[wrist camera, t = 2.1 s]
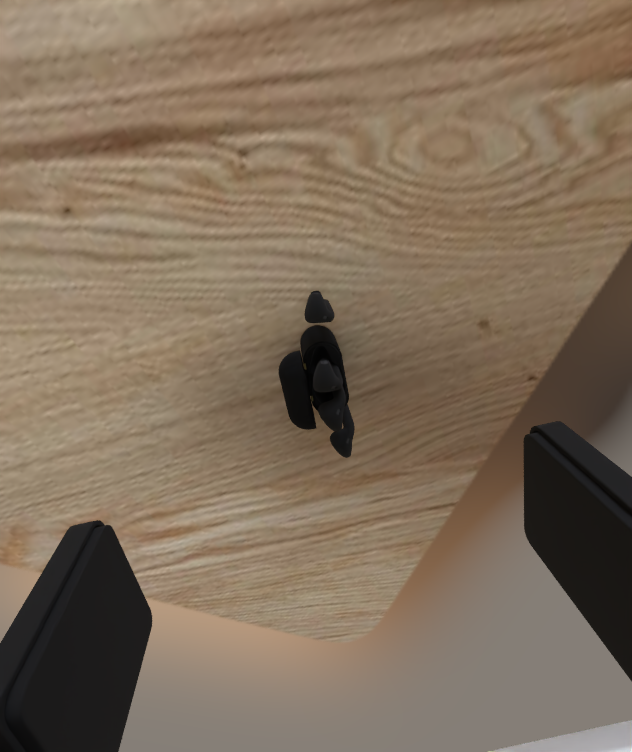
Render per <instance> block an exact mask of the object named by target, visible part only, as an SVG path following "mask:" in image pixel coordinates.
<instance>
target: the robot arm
mask: <svg viewBox="0 0 632 752" xmlns="http://www.w3.org/2000/svg"><path fill="white" fill-rule="evenodd" d="M524 529H525V533H526V537H527V539H528V541H529V543H530V544H531V546H532V547H533V549H534V550H535V551H536V553H537V554H538V555H539V557H540V558H541V559H542V561H543V562H544V563H545V565H546V566H547V568H548V569H549V570H550V571H551V573H552V574H553V576H554V577H555V578H556V580H557V581H558V582H559V584H560V585H561V586H562V588H563V589H564V591H565V592H566V593H567V595H568V596H569V597H570V599H571V600H572V601H573V603H574V604H575V605H576V607H577V608H578V609H579V611H580V612H581V613H582V615H583V616H584V618H585V619H586V620H587V621H588V623H589V624H590V626H591V627H592V628H593V630H594V631H595V632H596V634H597V635H598V636H599V638H600V639H601V640H602V642H603V643H604V645H605V646H606V647H607V649H608V650H609V651H610V653H611V654H612V655H613V656H614V658H615V659H616V661H617V662H618V663H619V665H620V666H621V668H622V669H623V670H624V672H625V673H626V674H627V676H628V677H629V678H630V680H631V681H632V477H631V476H630V475H628V474H627V473H626V472H625V471H623V470H622V469H621V468H620V467H618V466H617V465H616V464H614V463H613V462H612V461H610V460H609V459H608V458H607V457H606V456H604V455H603V454H602V453H600V452H599V451H598V450H597V449H595V448H594V447H593V446H592V445H590V444H589V443H588V442H586V441H585V440H584V439H583V438H581V437H580V436H579V435H578V434H576V433H575V432H574V431H573V430H571V429H570V428H569V427H567V426H566V425H565V424H564V423H562V422H558V421H556V422H552V423H547V424H542V425H538V426H534V427H532V428H531V431H530V434H527V435H525V438H524ZM151 627H152V615H151V610H150V607H149V606H148V603H147V601H146V599H145V597H144V595H143V592H142V590H141V588H140V586H139V584H138V582H137V579H136V577H135V575H134V573H133V571H132V569H131V567H130V564H129V562H128V560H127V558H126V556H125V554H124V551H123V549H122V547H121V545H120V543H119V541H118V539H117V536H116V534H115V532H114V530H113V528H112V527H111V526H110V525H104V524H103V523H102V522H101V521H98V520H97V521H92V522H87V523H83V524H78V525H73V526H71V527H70V528H69V529H68V530H67V532H66V533H65V535H64V537H63V539H62V540H61V542H60V544H59V545H58V547H57V549H56V550H55V552H54V554H53V555H52V557H51V559H50V560H49V562H48V564H47V565H46V567H45V569H44V571H43V572H42V574H41V576H40V577H39V579H38V581H37V582H36V584H35V586H34V587H33V589H32V591H31V592H30V594H29V596H28V598H27V599H26V601H25V603H24V604H23V606H22V608H21V609H20V611H19V613H18V614H17V616H16V618H15V619H14V621H13V623H12V625H11V626H10V628H9V630H8V631H7V633H6V635H5V636H4V638H3V640H2V641H1V643H0V752H118V751H119V747H120V743H121V739H122V735H123V732H124V728H125V725H126V721H127V717H128V713H129V710H130V706H131V702H132V698H133V695H134V691H135V687H136V683H137V680H138V676H139V672H140V669H141V665H142V661H143V657H144V654H145V650H146V646H147V642H148V638H149V635H150V631H151ZM488 752H632V720H630V721H625V722H620V723H615V724H610V725H606V726H601V727H597V728H592V729H588V730H583V731H578V732H574V733H570V734H565V735H561V736H556V737H552V738H547V739H543V740H538V741H534V742H529V743H524V744H520V745H516V746H511V747H506V748H502V749H497V750H493V751H488Z"/></svg>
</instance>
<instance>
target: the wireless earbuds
mask: <svg viewBox="0 0 632 752" xmlns="http://www.w3.org/2000/svg"><path fill="white" fill-rule="evenodd" d="M333 319H334V312H333V310H332V307H331V305H330V303H329V301H328V300H326V299H323V297H322V295H321V293H320V292H319V291H313V292H312V293H311V294H310V296H309V298H308V301H307V305H306V309H305V320H306V321H307V322H309V323H323V322H331V321H332V320H333ZM300 344H301V351H302V357H303V362H302V357H301V353H300V351H295V352H292V353H290V354H288V355H287V356H286V357H284V359H283V360H282V362H281V363H280V366H279V377H280V381H281V385H282V389H283V393H284V398H285V402H286V406H287V410H288V414H289V417H290V419H291V421H292V422H293V423H294V424H295V425H296V426H297V427H299V428H302V429H308V430H309V429H315V428H316V423H315V418H314V413H313V408H312V404H313V406H314V407H315V409H316V410H318V412H319V415H320V417H321V419H322V420H323V421H324V423H325V424H326V425H327V426H328V427H329V428H330V429H331V430H333V431H335V432H333V433H332V434H331V436H330V441H331V443H332V445H333V447H334V448H335V449H336V451H337V452H338V453H339V454H340V455H342V456H343V457H345V458H348V457H350V456H351V451H352V440H353V435H354V422H353V419H352V416H351V413H350V410H349V407H348V404H347V403H348V400H349V393H348V388H347V383H346V377H345V371H344V366H343V360H342V355H341V352H340V349H339V347H338V344H337V342H336V339H335V337H334V335H333V333H332V332H331V331H330V330H329V329H328V328H326V327H324V326H320V325H316V326H312V327H310V328H308V329H307V330H306V331H305V332H304V333H303V335H302V337H301V343H300ZM303 364H304V366H303ZM310 396H311V399H310ZM311 401H312V403H311ZM342 422H343V426H344V428H343V429H342Z"/></svg>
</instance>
